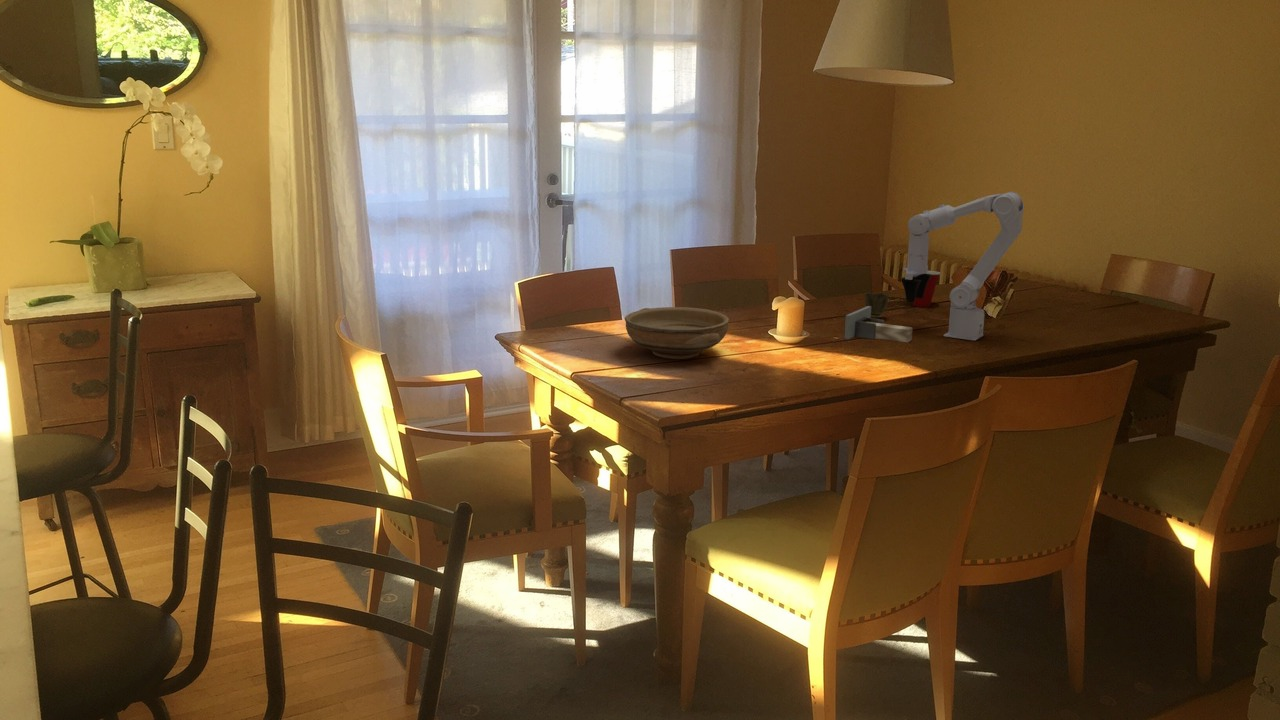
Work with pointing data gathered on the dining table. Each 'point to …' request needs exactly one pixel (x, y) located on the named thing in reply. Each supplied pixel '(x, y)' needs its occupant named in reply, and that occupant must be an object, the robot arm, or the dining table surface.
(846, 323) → the backboard
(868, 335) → the bracket
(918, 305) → the plastic cup
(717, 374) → the dining table surface
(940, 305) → the dining table surface
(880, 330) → the rail
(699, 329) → the ceramic bowl
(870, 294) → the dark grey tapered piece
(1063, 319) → the dining table surface
